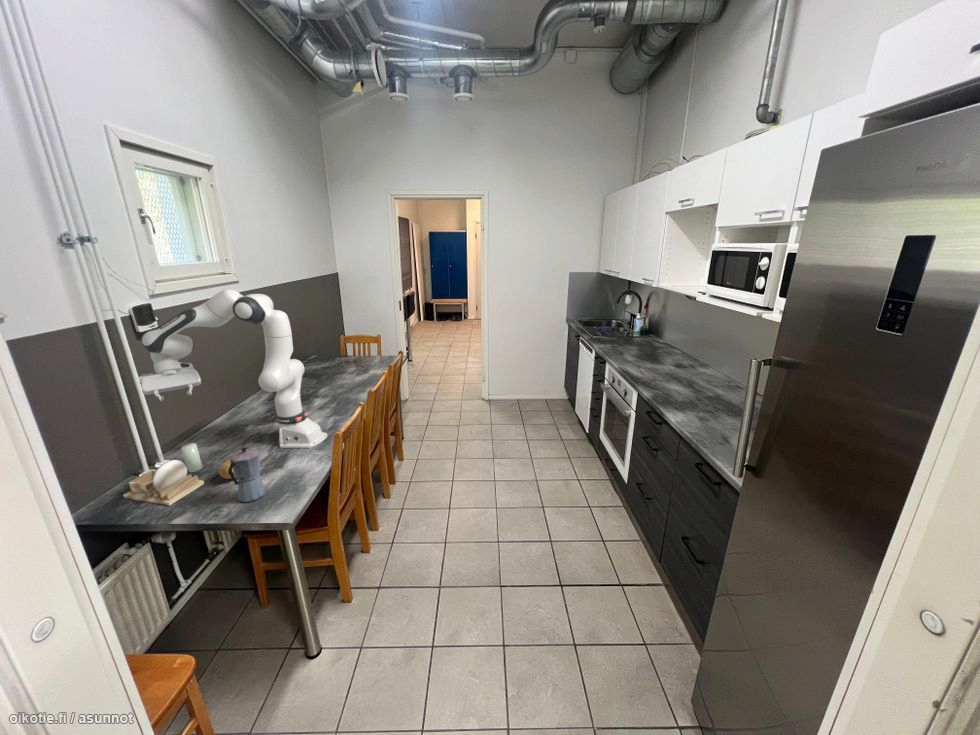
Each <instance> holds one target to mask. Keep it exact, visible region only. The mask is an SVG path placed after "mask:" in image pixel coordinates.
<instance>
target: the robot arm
mask: <svg viewBox="0 0 980 735" xmlns="http://www.w3.org/2000/svg"><path fill="white" fill-rule="evenodd" d="M276 306H277V305H276V301H275V299H274V297H272V296H271V295H270V294H267V293H264V292H256V293H248V294H247V295H243V294H241V293H240V292H239V291H238V290H235V289H232V288H225V289H223V290H221V291H219V292H217V293H216V294H214V295H213V296H211V297H210V298H209V299H208V300H206V301H205V302H203V303H201V304H200V305H197V306H195V307H192V308H188V309H185V310H182V311H180V312H179V313H177V314H176V315H175V316H173V317H170V318H169V319H167V320H166V321H165V322H163V323H161V324H160V325H158V326H156V327H153V328H151V329H149V330H147V331H146V332H144V333H143V334H142V337H141V339H140V340H141V341H140V342H141V345H142V347H143V348H144V349H145V350H146V351H147V352H148V353H149V354H150V359H151V360H152V362H153V369H154V372H150V373H144V374H141V375H139V376H138V377H139V380H140V383H139V384H140V386H141V392H142V394H144V395H145V396H147V395H153V394H154V396H155V397H156V398H158V399H159V402H163V401H165V397H164V395H160V393H165V392H170V391H175V390H176V391H177V390H181V389H187V388H188V390H187V391H186V395H187V397H189V396H192V394H193V393H192V392H193V389H194V387H197V386H200V385H201V384H202V378H201V376H200V374H199V372H198V371H197V369H195V368H194V366H193V363H191V362H179V360H182V359H184V358H186V357H188V356H189V355H191V354H192V353H193V352H194V350H195V342H194V339H192V337H190V336H188V335H184V334H180V332H182V331H183V330H185V329H188V328H196V327H201V328H217V327H221V326H223V325H226V323H228V322H229V321H231V319H233V317H236V318H237V319H239V320H240V321H243V322H248V323H252V324H254V325H259V324H260V325H261V326H262V330H263V336H264V337H263V338H264V346H265V356H264V362H263V368H262V371H261V373H260V375H259V377H258V380H257V381H258V382H257V383H258V386H260V388H261V389H262V390H263V391H264V392H267V393H275V392H276V394H275V396H274V405H275V411H276V415H275V417H276V422H277V423H278V434H279V436H278V444H279V448H280V449H312V448H314V447H316V446H318V445H319V444H321V443H322V442H323V441H324V440H326V439H327V437H328V433H327V432H324V431H322V429H321V426H320V425H319V424H318V423H317V422H315V421H314V420H312V419H310V418H309V417H308V416H307V415H309V414H308V411H307V412H305V410H304V409H303V407H302V406H303V405H302V400H301V386H302V378H303V376H304V373H305V370H306V369H305V366H304V364H303V362H302V361H301V360H299V359H296V358H291V356H292V354H293V352H294V344H293V343H294V342H293V334H292V327H291V323H290V319H289V316H288V314H287V313H286V312H284V311H282V310H280V309H276Z"/></svg>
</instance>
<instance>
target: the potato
mask: <svg viewBox="0 0 980 735" xmlns="http://www.w3.org/2000/svg"><path fill="white" fill-rule="evenodd" d="M230 464H231V461H230V458H228V459H227V460H225V461H224V462H223V463H222V464H221V465H220V467H219V469H218V474H219V476H220V477H221V478H223V479H227V480H230V479H232V478H231V476H230V474H229V472H228V470H229V467H230ZM232 472H233V473H234V476H235V478H236V479H238V478H237V476H236V475H235V472H234V469H233V468H232ZM232 480H233V479H232Z"/></svg>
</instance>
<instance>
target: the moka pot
mask: <svg viewBox="0 0 980 735" xmlns="http://www.w3.org/2000/svg"><path fill="white" fill-rule="evenodd" d="M260 453H261V452H260V450H258V448H257V447H251V448H248V449H247V447H242V448H241V450H240V451H238V452H235V453H233V454H232V455H231V456H230V457H229V459H230V461H231V464H230V467H229V470H228V472H229V474H230V476H231V478H232V481H233V483H234V484H235V486H238V487H237V488H238V492H237V493H238V495H237V497H238V501H240V502H242V503H249V502H253V501H256V500H258V499H261V498H262V497H263V496H264V495H265V494H266V490H265V487H264V484H263V481H262V478H261V472H260V470H261V456H260V455H261V454H260ZM232 468H233V469H234V472H235V475H236V476H237V478H235V476H234V473H233V472H232Z"/></svg>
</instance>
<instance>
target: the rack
mask: <svg viewBox="0 0 980 735" xmlns="http://www.w3.org/2000/svg"><path fill="white" fill-rule="evenodd" d="M127 483H128V487H129V490H130V491H128V492H127V493H124V494H123V497H124V499H131V500H135V501H141V502H148V503H151V504H152V503H153V504H157V505H158V504H159V505H165V506H171V505H173V504H174V503H176V502H178V501H179V500H181V499H182V498H184V497H185V496H187V495H189V494H190V493H192V492H194V491H195V490H197V489H198V488H200V487H201V486H203V485H204V484H205V481H204V480H201V479H200V478H199V477H198V475H194V476H193V475H192V474H191V473H190V474H188V470H187V467H186V463H185V462H183V461H182V460H178V459H171V460H167V461H165V462H163V463H162V464H160V465H159V467H157V468H156V469H151V470H150V471H149V470H148V471H147V472H145V473H143V474H141V475H140V476H138V477H136V478H134V479H132V480H130V481H128V482H127Z"/></svg>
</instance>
